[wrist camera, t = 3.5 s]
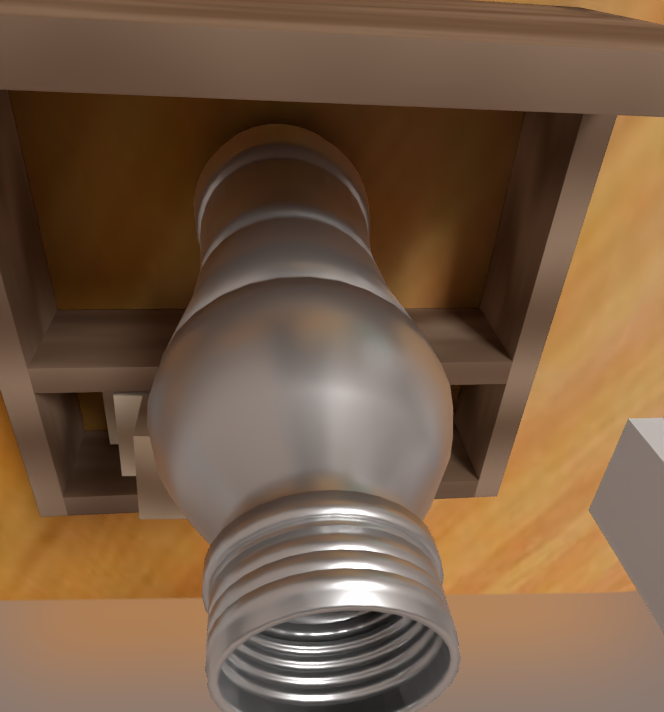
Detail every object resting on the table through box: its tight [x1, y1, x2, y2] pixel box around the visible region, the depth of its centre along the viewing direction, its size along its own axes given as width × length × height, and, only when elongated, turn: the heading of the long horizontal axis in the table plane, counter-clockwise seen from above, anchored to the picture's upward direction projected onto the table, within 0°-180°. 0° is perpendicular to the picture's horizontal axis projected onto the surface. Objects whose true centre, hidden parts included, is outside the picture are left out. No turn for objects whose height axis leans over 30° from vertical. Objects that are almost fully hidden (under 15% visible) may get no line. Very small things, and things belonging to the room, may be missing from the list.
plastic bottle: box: [147, 124, 460, 712], centre depth 17 cm, size 6×7×20 cm
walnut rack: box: [0, 0, 664, 517], centre depth 22 cm, size 21×22×12 cm
